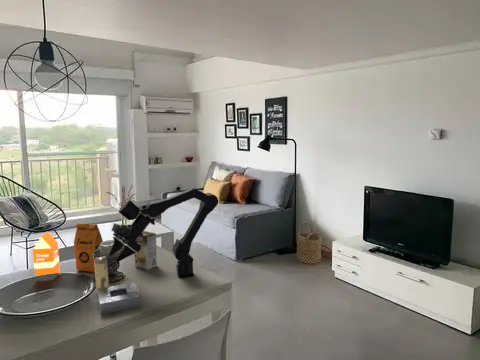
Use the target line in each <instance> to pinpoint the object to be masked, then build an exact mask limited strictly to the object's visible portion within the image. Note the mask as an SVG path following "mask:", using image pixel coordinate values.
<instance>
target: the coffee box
mask: <svg viewBox="0 0 480 360" xmlns="http://www.w3.org/2000/svg"><path fill="white" fill-rule="evenodd" d="M142 234H143V235H142V236H141V235H140V236H139V237H138V239H137V240H136V242H137V243H138V244H139V245H140V246H141V250H140V251H139V252H136V251H135V252H136V253H134V254H133V255H134V267H137V268H140V269H144V270H147V271H148V270H151V269H153V268H155V267H157V266H158V259H157V258H158V257H157V253H158V252H157V236H156V235H157V234H156V233H155V232H150V231H145V230H144V231H143V232H142Z"/></svg>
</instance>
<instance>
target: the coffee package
mask: <svg viewBox="0 0 480 360" xmlns="http://www.w3.org/2000/svg"><path fill="white" fill-rule="evenodd" d="M75 228H76V229H75V230H76V231H75V235H74V239H73V247H74V254H75V256H74V257H75V265H76V266H75V267H76V268H75V270H76V271H84V272H85V271H86V272H90V273H95V267H94V258H93V253H94V251H96V250H97V249H98V247H99V246H100V244H101V242H103V243H104V241H103V237H102V234H101V231H100V228H99V226H98V224H93V223H76V225H75Z"/></svg>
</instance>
